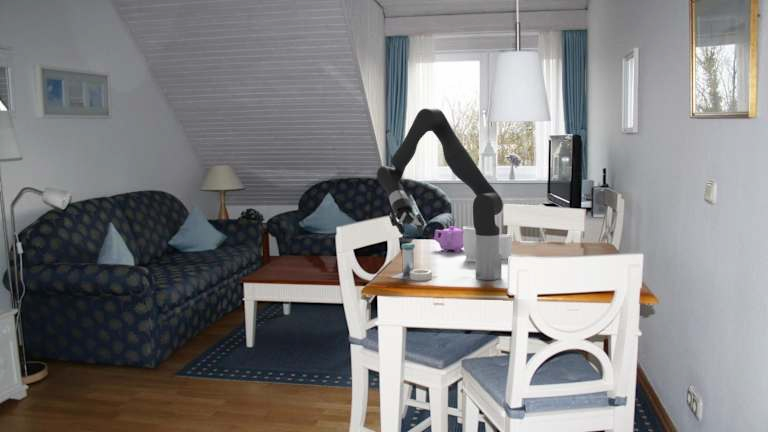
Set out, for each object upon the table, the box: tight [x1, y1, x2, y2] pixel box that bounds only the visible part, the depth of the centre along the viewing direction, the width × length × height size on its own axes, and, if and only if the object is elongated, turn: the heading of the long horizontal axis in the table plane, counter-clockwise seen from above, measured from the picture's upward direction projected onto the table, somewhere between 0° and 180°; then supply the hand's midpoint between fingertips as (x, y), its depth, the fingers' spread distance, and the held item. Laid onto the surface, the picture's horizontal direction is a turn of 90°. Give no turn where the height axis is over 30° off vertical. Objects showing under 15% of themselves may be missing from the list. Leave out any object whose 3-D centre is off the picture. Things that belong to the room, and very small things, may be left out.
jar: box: [462, 225, 476, 263], centre depth 303 cm, size 11×10×15 cm
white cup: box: [499, 233, 513, 260], centre depth 309 cm, size 8×8×10 cm
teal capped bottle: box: [401, 243, 416, 276], centre depth 273 cm, size 5×5×12 cm
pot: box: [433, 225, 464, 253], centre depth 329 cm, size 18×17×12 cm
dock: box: [390, 269, 438, 283], centre depth 269 cm, size 16×10×4 cm, turn 55°
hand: (412, 233), depth 274 cm, fingers open, 8 cm apart
